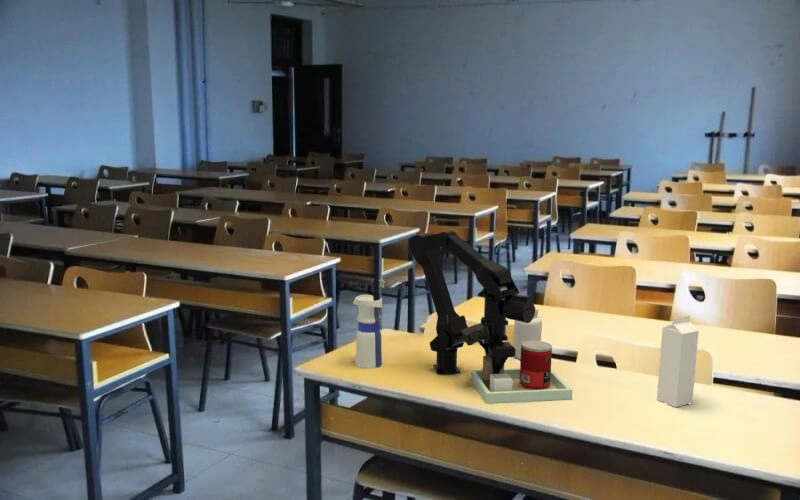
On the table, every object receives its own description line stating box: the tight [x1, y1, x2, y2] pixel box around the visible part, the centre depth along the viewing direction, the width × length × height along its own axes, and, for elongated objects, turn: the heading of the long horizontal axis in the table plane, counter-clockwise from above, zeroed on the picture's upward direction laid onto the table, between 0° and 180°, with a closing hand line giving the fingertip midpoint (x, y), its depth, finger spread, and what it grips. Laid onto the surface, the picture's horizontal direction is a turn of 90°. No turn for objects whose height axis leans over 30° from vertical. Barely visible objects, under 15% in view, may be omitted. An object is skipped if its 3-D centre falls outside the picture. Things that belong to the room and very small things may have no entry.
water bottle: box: [352, 276, 386, 369], centre depth 204 cm, size 8×9×25 cm
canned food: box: [519, 340, 553, 390], centre depth 190 cm, size 8×8×11 cm
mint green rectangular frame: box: [469, 367, 573, 404], centre depth 188 cm, size 17×22×2 cm
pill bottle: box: [512, 305, 543, 360], centre depth 212 cm, size 8×8×15 cm
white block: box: [489, 374, 514, 392], centre depth 183 cm, size 4×4×5 cm
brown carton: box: [482, 355, 505, 381], centre depth 190 cm, size 4×4×5 cm
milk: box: [656, 315, 699, 408], centre depth 178 cm, size 6×6×22 cm
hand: (493, 372), depth 190 cm, fingers closed on brown carton, 4 cm apart
